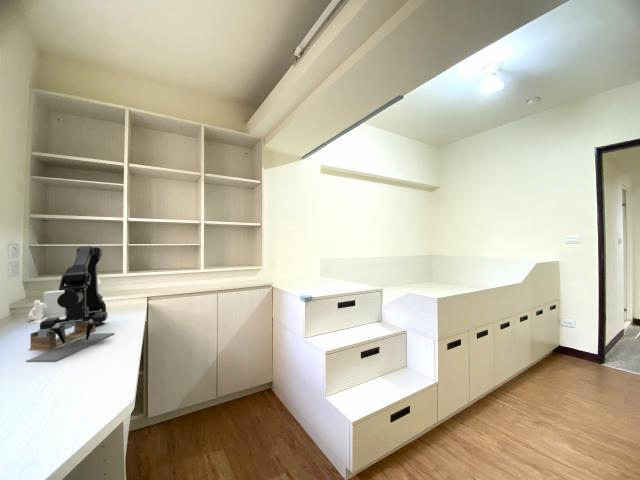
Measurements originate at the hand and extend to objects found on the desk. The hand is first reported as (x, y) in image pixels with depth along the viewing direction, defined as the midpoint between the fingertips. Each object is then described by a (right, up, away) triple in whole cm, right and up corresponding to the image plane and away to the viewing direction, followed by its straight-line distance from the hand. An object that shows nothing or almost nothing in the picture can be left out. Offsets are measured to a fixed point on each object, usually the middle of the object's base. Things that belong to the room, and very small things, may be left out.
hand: (76, 341), depth 100 cm
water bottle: (-37, -3, +49) cm, 61 cm away
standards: (-11, -2, +7) cm, 13 cm away
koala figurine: (-50, -3, +31) cm, 59 cm away
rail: (-11, +3, +7) cm, 14 cm away
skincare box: (-51, -3, +40) cm, 64 cm away
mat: (0, -2, 0) cm, 2 cm away
